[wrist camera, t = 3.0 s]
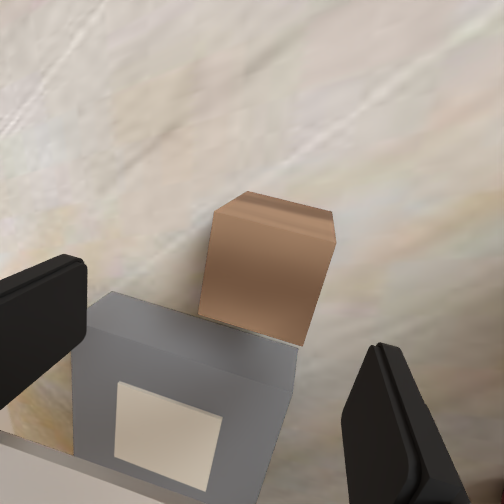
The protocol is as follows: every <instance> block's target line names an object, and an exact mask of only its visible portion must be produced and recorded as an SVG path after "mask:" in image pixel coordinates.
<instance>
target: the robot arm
mask: <svg viewBox="0 0 504 504" xmlns="http://www.w3.org/2000/svg"><path fill="white" fill-rule="evenodd" d="M86 332H87V266H86V265H85V264H84V261H83V260H82V259H81V258H77V257H74V256H70V255H67V254H62V255H59V256H57V257H54V258H52V259H49V260H47V261H45V262H42V263H40V264H38V265H35V266H33V267H30V268H28V269H26V270H23V271H21V272H19V273H16V274H14V275H11V276H9V277H7V278H4V279H2V280H0V410H1V409H2V408H4V407H5V406H6V405H7V404H8V403H9V402H11V401H12V400H13V399H14V398H15V397H17V396H18V395H19V394H20V393H21V392H23V391H24V390H25V389H26V388H27V387H29V386H30V385H31V384H32V383H33V382H35V381H36V380H37V379H38V378H39V377H40V376H42V375H43V374H44V373H45V372H46V371H48V370H49V369H50V368H51V367H52V366H54V365H55V364H56V363H57V362H58V361H60V360H61V359H62V358H63V357H64V356H66V355H67V354H68V353H69V352H70V351H71V350H73V349H74V348H75V347H76V346H77V345H79V344H80V343H81V342H82V341H83V339H84V338H85V336H86ZM341 427H342V437H343V446H344V455H345V465H346V474H347V484H348V493H349V503H350V504H471V502H470V500H469V498H468V496H467V493H466V491H465V489H464V487H463V485H462V482H461V480H460V478H459V476H458V473H457V471H456V469H455V467H454V464H453V462H452V460H451V458H450V455H449V453H448V451H447V449H446V447H445V444H444V442H443V440H442V438H441V435H440V433H439V431H438V429H437V426H436V424H435V422H434V420H433V418H432V415H431V413H430V411H429V409H428V407H427V406H426V404H425V403H424V401H423V399H422V396H421V394H420V392H419V390H418V387H417V385H416V383H415V381H414V378H413V376H412V374H411V372H410V369H409V367H408V365H407V362H406V360H405V358H404V356H403V353H402V351H401V349H400V348H398V347H395V346H391V345H388V344H384V343H381V342H379V343H378V344H377V345H376V346H373V345H371V346H370V347H369V349H368V351H367V354H366V356H365V358H364V361H363V363H362V366H361V368H360V370H359V373H358V375H357V378H356V380H355V382H354V385H353V387H352V390H351V392H350V395H349V397H348V399H347V402H346V404H345V407H344V409H343V412H342V417H341ZM0 504H206V503H203V502H201V501H198V500H195V499H192V498H190V497H187V496H184V495H181V494H179V493H176V492H173V491H170V490H168V489H165V488H162V487H159V486H156V485H154V484H151V483H148V482H145V481H142V480H140V479H137V478H134V477H131V476H128V475H126V474H123V473H120V472H117V471H114V470H112V469H109V468H106V467H103V466H100V465H98V464H95V463H92V462H89V461H86V460H84V459H81V458H78V457H75V456H72V455H70V454H67V453H64V452H61V451H58V450H55V449H53V448H50V447H47V446H44V445H41V444H39V443H36V442H33V441H30V440H27V439H24V438H21V437H19V436H16V435H13V434H10V433H7V432H4V431H1V430H0Z"/></svg>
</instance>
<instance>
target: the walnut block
mask: <svg viewBox="0 0 504 504" xmlns="http://www.w3.org/2000/svg"><path fill="white" fill-rule="evenodd" d="M335 246H336V237H335V230H334V223H333V216H332V212H331V211H326V210H322V209H318V208H314V207H310V206H306V205H302V204H298V203H294V202H290V201H286V200H282V199H278V198H274V197H270V196H266V195H262V194H257V193H253V192H249V191H247V192H245V193H243V194H242V195H240V196H239V197H237V198H235V199H234V200H232V201H230V202H229V203H227V204H225V205H224V206H222V207H220V208H219V209H217V210H216V211H214V216H213V222H212V228H211V234H210V241H209V247H208V253H207V259H206V265H205V272H204V278H203V284H202V290H201V297H200V303H199V309H198V314H199V315H202V316H205V317H208V318H212V319H215V320H218V321H221V322H225V323H228V324H231V325H234V326H238V327H241V328H244V329H247V330H251V331H254V332H257V333H260V334H264V335H267V336H270V337H273V338H277V339H280V340H283V341H286V342H290V343H293V344H296V345H299V346H303V344H304V341H305V338H306V335H307V332H308V329H309V326H310V322H311V319H312V316H313V313H314V310H315V307H316V304H317V301H318V298H319V295H320V292H321V289H322V286H323V283H324V279H325V276H326V273H327V270H328V267H329V264H330V261H331V258H332V255H333V252H334V249H335Z"/></svg>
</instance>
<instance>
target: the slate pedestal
mask: <svg viewBox="0 0 504 504" xmlns="http://www.w3.org/2000/svg"><path fill="white" fill-rule="evenodd" d="M297 353H298V348H295V347H291V346H288V345H285V344H282V343H278V342H275V341H272V340H269V339H265V338H262V337H259V336H256V335H252V334H249V333H246V332H243V331H239V330H236V329H233V328H230V327H226V326H223V325H220V324H217V323H213V322H210V321H207V320H204V319H201V318H197V317H194V316H191V315H188V314H184V313H181V312H178V311H175V310H171V309H168V308H165V307H162V306H158V305H155V304H152V303H149V302H145V301H142V300H139V299H136V298H132V297H129V296H126V295H123V294H119V293H116V292H113V291H112V292H110V293H109V294H107V295H106V296H104V297H103V298H101V299H100V300H99V301H97V302H96V303H94V304H93V305H91V306H90V307H89V308H87V332H86V336H85V338H84V339H83V341H82V342H81V343H80V344H79V345H77V346H76V347H75V348H74V349H73V350H71V363H72V404H73V445H74V456H75V457H78V458H81V459H84V460H86V461H89V462H92V463H95V464H98V465H100V466H103V467H106V468H109V469H112V470H114V471H117V472H120V473H123V474H126V475H128V476H131V477H134V478H137V479H140V480H142V481H145V482H148V483H151V484H154V485H156V486H159V487H162V488H165V489H168V490H170V491H173V492H176V493H179V494H181V495H184V496H187V497H190V498H192V499H195V500H198V501H201V502H203V503H206V504H256V502H257V499H258V496H259V493H260V490H261V487H262V484H263V481H264V478H265V475H266V472H267V469H268V466H269V463H270V460H271V457H272V454H273V451H274V448H275V445H276V442H277V439H278V436H279V433H280V430H281V427H282V424H283V421H284V418H285V415H286V412H287V409H288V406H289V403H290V400H291V397H292V394H293V386H294V378H295V370H296V361H297Z"/></svg>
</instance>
